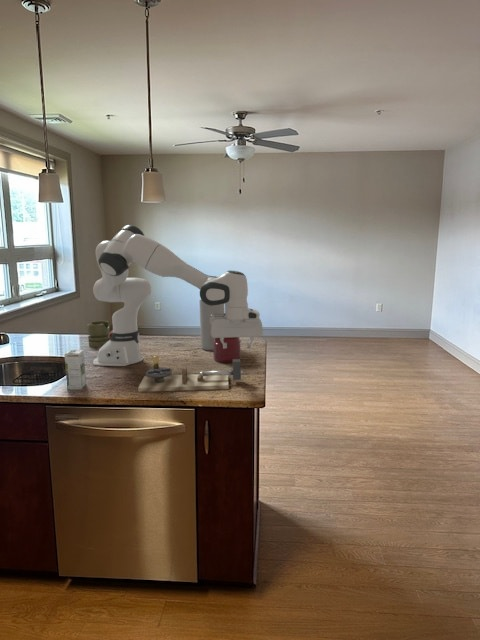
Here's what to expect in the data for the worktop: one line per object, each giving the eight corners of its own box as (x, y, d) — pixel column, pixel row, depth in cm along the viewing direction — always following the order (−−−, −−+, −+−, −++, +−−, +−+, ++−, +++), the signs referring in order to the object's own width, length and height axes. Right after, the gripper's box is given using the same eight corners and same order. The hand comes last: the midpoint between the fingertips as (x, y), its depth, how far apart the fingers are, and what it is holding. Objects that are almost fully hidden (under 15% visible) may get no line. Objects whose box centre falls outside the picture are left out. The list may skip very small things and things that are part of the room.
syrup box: (71, 385, 170) (68, 349, 167) (86, 384, 170) (83, 349, 167) (67, 390, 164) (63, 353, 161) (82, 389, 165) (79, 353, 162)
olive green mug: (112, 320, 236) (103, 325, 225) (114, 342, 238) (105, 347, 227) (93, 320, 237) (83, 324, 226) (94, 341, 240) (85, 346, 229)
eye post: (182, 383, 165) (181, 369, 164) (184, 377, 172) (183, 363, 171) (186, 383, 165) (185, 369, 164) (187, 377, 172) (186, 363, 171)
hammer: (199, 380, 167) (198, 363, 165) (200, 377, 171) (199, 360, 169) (243, 379, 167) (242, 361, 166) (242, 376, 171) (242, 358, 170)
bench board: (138, 391, 161) (137, 381, 160) (144, 379, 175) (144, 369, 174) (228, 388, 163) (228, 378, 162) (228, 376, 176) (227, 367, 176)
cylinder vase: (216, 352, 214) (214, 302, 209) (196, 349, 220) (194, 301, 215) (229, 346, 224) (228, 299, 219) (210, 343, 231) (209, 297, 226)
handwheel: (160, 368, 174) (160, 354, 173) (177, 373, 168) (176, 358, 167) (140, 374, 167) (139, 359, 166) (157, 379, 161) (156, 364, 159)
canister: (219, 364, 193) (218, 326, 190) (209, 357, 205) (208, 321, 202) (245, 360, 198) (244, 323, 195) (234, 353, 210) (233, 318, 207)
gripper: (209, 315, 161) (210, 350, 164) (263, 314, 162) (263, 349, 165) (209, 312, 167) (210, 346, 170) (261, 311, 168) (261, 345, 171)
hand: (237, 347), depth 168 cm, fingers open, 8 cm apart
